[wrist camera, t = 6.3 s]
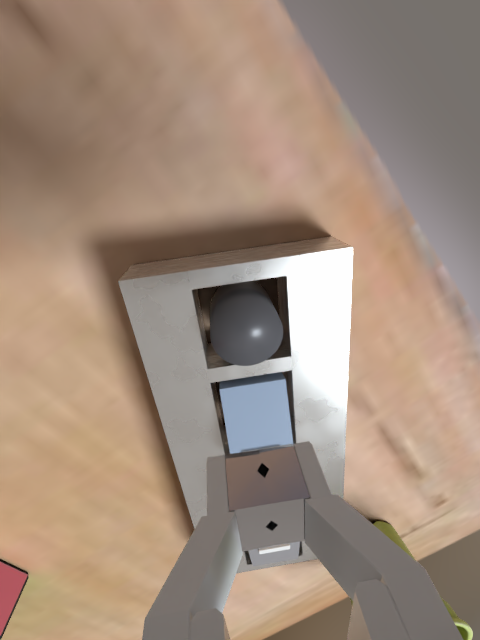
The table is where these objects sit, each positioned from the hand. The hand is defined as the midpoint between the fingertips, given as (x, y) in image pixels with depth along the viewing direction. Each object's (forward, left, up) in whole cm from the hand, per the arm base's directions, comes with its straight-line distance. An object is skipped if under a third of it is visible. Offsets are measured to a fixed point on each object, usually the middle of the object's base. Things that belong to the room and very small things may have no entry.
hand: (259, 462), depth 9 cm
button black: (0, +1, -11) cm, 11 cm away
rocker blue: (+7, +1, -9) cm, 11 cm away
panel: (+11, +1, -12) cm, 16 cm away
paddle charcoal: (+20, +1, -9) cm, 22 cm away
